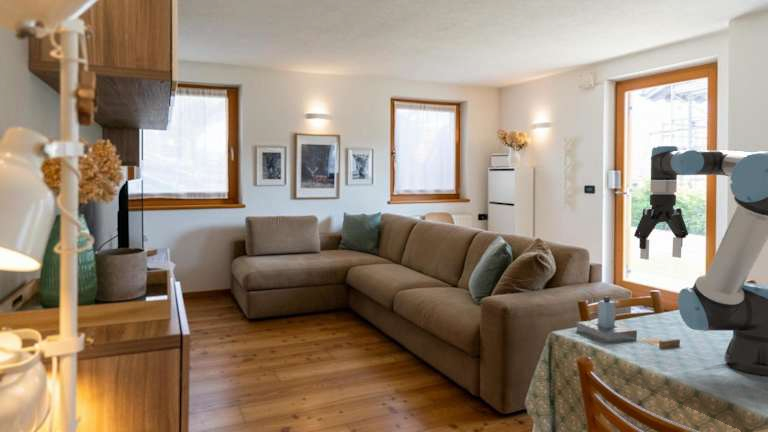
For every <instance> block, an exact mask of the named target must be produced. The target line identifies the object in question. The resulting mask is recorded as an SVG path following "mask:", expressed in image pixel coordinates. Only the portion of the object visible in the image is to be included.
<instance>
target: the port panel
mask: <svg viewBox="0 0 768 432" xmlns="http://www.w3.org/2000/svg"><path fill="white" fill-rule="evenodd" d="M576 331H577V332H579V333H581V334H584V335H586V336H588V337H591V338H593V339H595V340H598V341H600V342H602V343H604V344H605V343H606V344H609V343H618V342H619V343H620V342H627V341H634V340H637V338H638V330H637V329H635V328H631V327H629V326H626V325H623V324H620V323H618V322H615V325H614V328H608V329H604V328H602V327H599V326H598V319H595V320H594V319H593V320H586V321H585V320H584V321H577V322H576Z"/></svg>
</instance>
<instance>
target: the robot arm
mask: <svg viewBox="0 0 768 432" xmlns="http://www.w3.org/2000/svg"><path fill="white" fill-rule="evenodd" d="M678 149H679V148H678V146H676V145H657V146H654V147H653V148H652V149H651V157H650V188H649V189H650V195H649V205H650V206H651V208H643V210H642V215H641V218H640V220H639V223H638V224H637V227H636V229H635V232H634V235H633V237H636V239H639V249H640V251H639V253H640V254H639V255H640V256H639V258H640V259H641V260H642V259H643V260H646V261H647V260H650V258H649V256H650V239H649V237H650V235H651V233H652V232H653V230H655V228H656V227H657V225H658V224H659V223H666V224H667V225H668V227H669V229H670V230H671V232H672V234H673V235H674V237H672V253H671V254H672V257H673V258H679V259H680V258H682V247H683V239H686V237H687V236H689V232H688V229H687V226H686V224H685V220H684V217H683V215H682V214H683V212H682V208H680V207H675V206H676V205H677V195H676V194H675V193H677V181H678V179H677V176H708V175H709V176H724V177H725V176H726V177H730V180H729V181H731V183H730V185H729V186H730V191H731V194H732V195H733V196H734V197H733V200H734V202H735V203H736V205H737V206H736V208H735V211H734V213H733V215H732V217H731V219H730V222H729V224H728V226H727V228H726V230H725V233H724V234H723V237H722V239H721V241H720V243H719V245H718V248H717V250H716V252H715V254H714V256H713V259H712V261H711V262H710V265H709V267H708V270H707V271H706V273H705V274H702V275H700V276H699V277H697V278H696V279H695V282H694V284H693V286H692V287H685V288H682V289H681V290H680V291H679V292H678V295H677V305H678V306H677V307H678V311H679V314H680V317H681V319H682V321H683V322H684V324H685V325H686V326H687V327H688V328H690V329H691V330H694V331H703V332H707V331H709V332H710V331H711V332H713V331H716V332H717V331H719V332H720V331H723V332H724V331H731V332H732V337H731V340H730V342H729V344H728V346H727V348H726V349H725V352H724V361H725V362H726V363H725V365H727V366H728V367H731V368H732V369H735V370H738V371H741V372H744V373H748V374H753V375H758V376H766V377H768V285H763V284H759V283H758V284H757V283H752V282H746V281H747V279H748V277H749V275H750V273H751V272H752V270H753V268H754V266H755V263H756V262H757V259H758V258H759V256H760V254H761V253H762V250H763V249H764V246H765V245H766V243H767V241H768V150H765V151H755V152H746V151H743V150H736V149H728V150H722V149H721V150H705V149H704V150H703V149H702V150H697V149H696V150H695V149H686V148H685V149H681V150H678Z"/></svg>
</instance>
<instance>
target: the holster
mask: <svg viewBox="0 0 768 432" xmlns="http://www.w3.org/2000/svg"><path fill="white" fill-rule="evenodd" d="M639 341H642V342H643V343H647V344H649V345H652V346H654V347H657V348H659V349H667V348H668V349H669V348H674V347H675V348H676V347H680V346H681V345H680V344H681V343H680V342H681V340H680V339H679V338H674V339H673V338H672V339H664V340H663V339H661V338H657V337H651V338H643V339H639Z"/></svg>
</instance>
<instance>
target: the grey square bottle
mask: <svg viewBox="0 0 768 432" xmlns="http://www.w3.org/2000/svg"><path fill="white" fill-rule="evenodd" d="M597 304H598V305H597V308H598V309H597V320H598V326H599V327H602V328H604V329H608V328H614V325H615V323H616V320H615V319H616V317H615V309H616V302H615V301H612V300H611V297H610V296H608V295H607V296H606V295H605V296H603V300H598V303H597Z"/></svg>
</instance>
